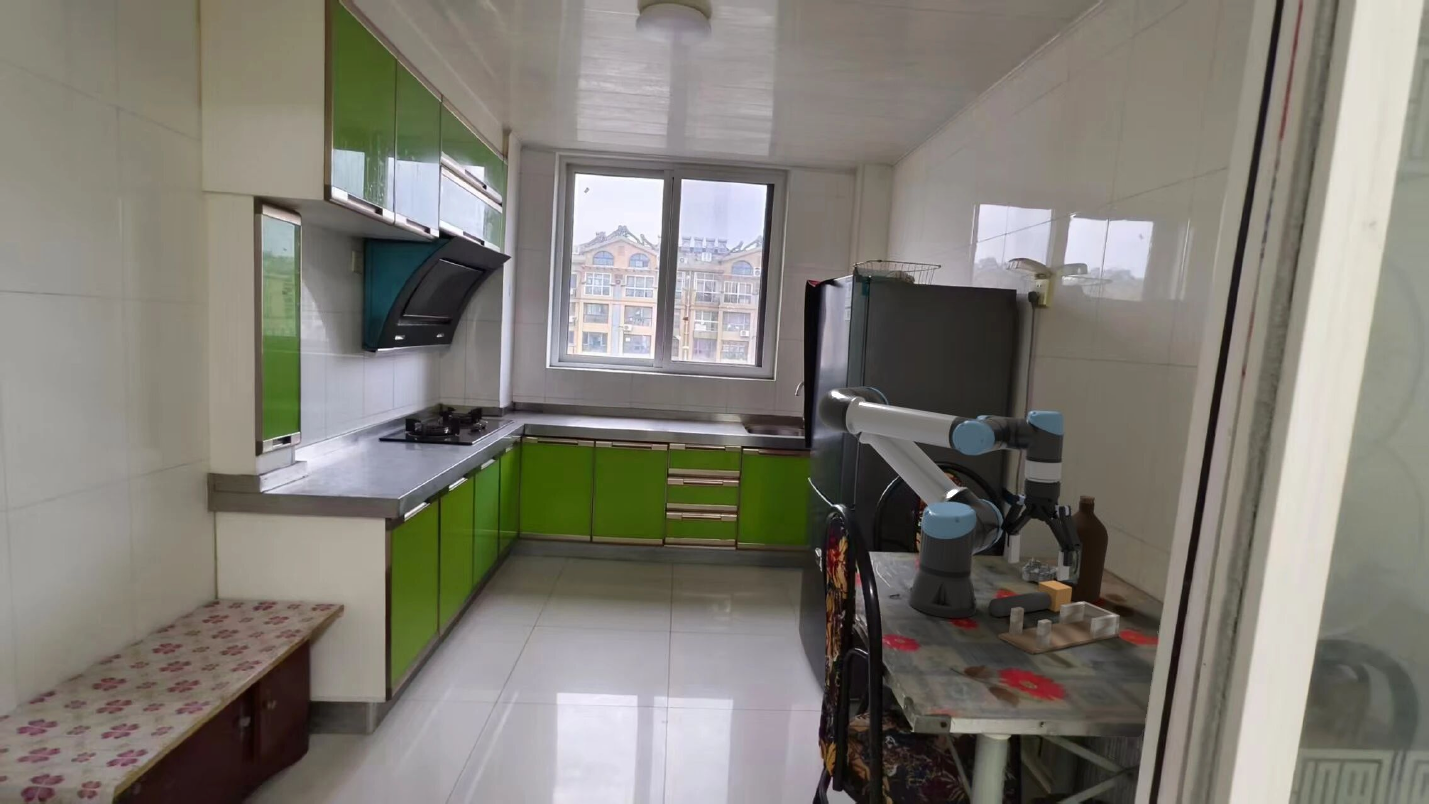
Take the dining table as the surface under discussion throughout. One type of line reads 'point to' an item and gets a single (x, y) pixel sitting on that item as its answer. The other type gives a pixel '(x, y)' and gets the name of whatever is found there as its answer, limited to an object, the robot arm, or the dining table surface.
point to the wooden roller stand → (1063, 628)
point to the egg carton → (1038, 572)
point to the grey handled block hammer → (1034, 599)
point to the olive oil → (1087, 554)
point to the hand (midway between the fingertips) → (1037, 570)
